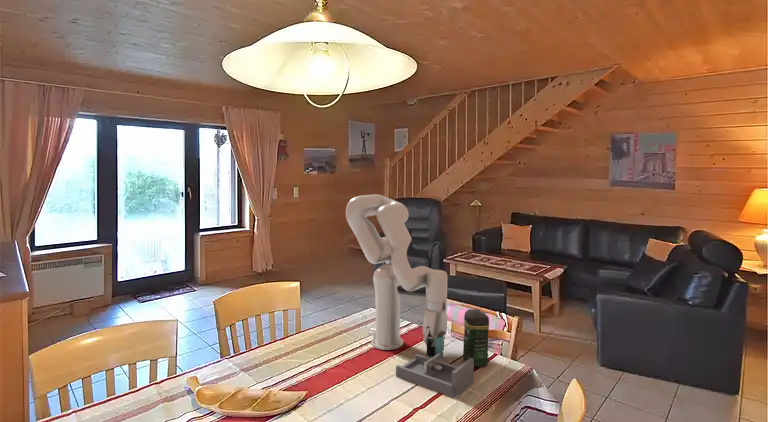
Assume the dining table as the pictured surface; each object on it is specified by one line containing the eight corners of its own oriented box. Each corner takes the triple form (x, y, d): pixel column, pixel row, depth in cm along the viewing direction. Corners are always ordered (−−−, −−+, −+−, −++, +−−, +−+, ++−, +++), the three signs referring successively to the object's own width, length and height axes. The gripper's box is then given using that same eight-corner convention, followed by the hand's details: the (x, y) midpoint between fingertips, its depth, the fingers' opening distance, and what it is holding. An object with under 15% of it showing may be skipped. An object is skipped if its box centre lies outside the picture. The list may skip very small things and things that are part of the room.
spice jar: (423, 358, 160) (424, 331, 159) (432, 352, 165) (432, 326, 164) (438, 363, 156) (438, 335, 155) (446, 357, 161) (447, 330, 160)
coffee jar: (490, 367, 153) (492, 316, 151) (468, 368, 152) (470, 316, 150) (481, 355, 163) (482, 306, 161) (460, 356, 162) (461, 307, 160)
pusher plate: (424, 379, 142) (424, 362, 141) (438, 369, 149) (439, 352, 148) (434, 383, 139) (434, 366, 139) (448, 372, 147) (449, 356, 146)
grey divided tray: (395, 376, 147) (396, 353, 146) (416, 363, 156) (416, 341, 155) (454, 398, 133) (455, 373, 132) (473, 382, 143) (473, 358, 142)
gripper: (439, 297, 167) (438, 342, 169) (414, 308, 154) (413, 358, 156) (457, 300, 163) (455, 347, 165) (432, 313, 149) (431, 364, 151)
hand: (435, 352), depth 160 cm, fingers closed on spice jar, 5 cm apart
